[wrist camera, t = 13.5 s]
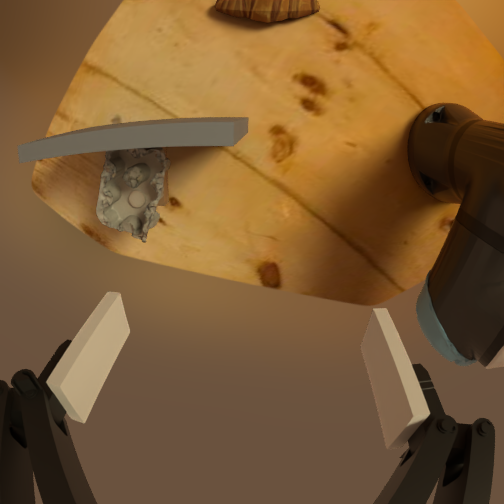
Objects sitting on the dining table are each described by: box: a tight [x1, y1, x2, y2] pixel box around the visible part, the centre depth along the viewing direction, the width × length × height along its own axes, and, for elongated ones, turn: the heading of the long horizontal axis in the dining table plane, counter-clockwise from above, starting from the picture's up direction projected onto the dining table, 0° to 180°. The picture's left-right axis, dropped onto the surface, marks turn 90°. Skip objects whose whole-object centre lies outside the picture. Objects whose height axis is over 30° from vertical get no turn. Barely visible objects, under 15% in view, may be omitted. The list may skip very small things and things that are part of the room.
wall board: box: [18, 117, 248, 206], centre depth 32 cm, size 24×10×16 cm, turn 88°
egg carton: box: [96, 147, 171, 243], centre depth 31 cm, size 11×8×4 cm
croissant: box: [215, 0, 320, 23], centre depth 27 cm, size 14×7×5 cm, turn 90°
